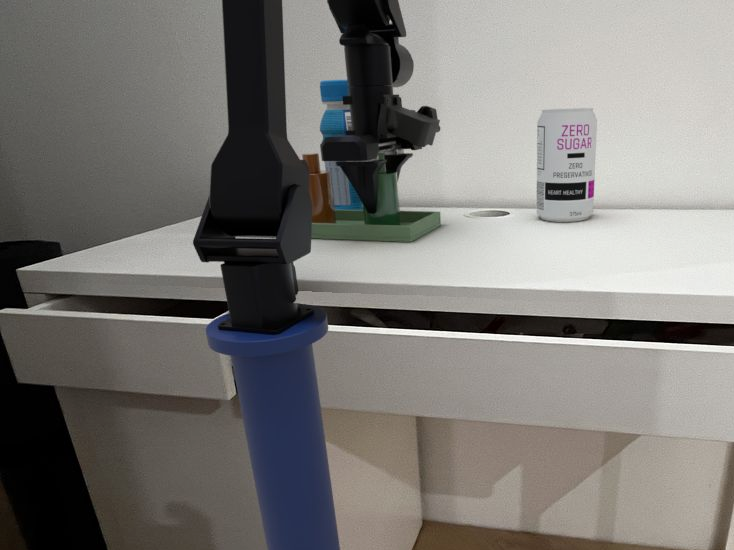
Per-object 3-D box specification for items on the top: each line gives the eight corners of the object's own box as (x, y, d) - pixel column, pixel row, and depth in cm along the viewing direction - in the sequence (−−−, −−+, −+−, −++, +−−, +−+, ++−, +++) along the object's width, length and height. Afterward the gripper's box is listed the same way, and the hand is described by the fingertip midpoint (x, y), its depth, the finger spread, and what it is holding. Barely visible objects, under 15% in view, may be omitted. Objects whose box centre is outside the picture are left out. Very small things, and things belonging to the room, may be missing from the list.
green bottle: (391, 232, 83) (385, 154, 79) (358, 231, 85) (350, 155, 81) (406, 225, 88) (401, 151, 84) (374, 224, 89) (367, 151, 85)
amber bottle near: (325, 230, 86) (316, 155, 83) (294, 229, 88) (284, 155, 84) (343, 223, 91) (335, 152, 87) (313, 222, 92) (304, 152, 88)
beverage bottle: (321, 218, 98) (304, 80, 90) (338, 209, 106) (324, 81, 98) (373, 218, 97) (361, 78, 89) (386, 209, 104) (376, 79, 97)
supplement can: (562, 211, 97) (564, 108, 92) (604, 217, 91) (609, 107, 86) (525, 218, 92) (525, 110, 87) (566, 225, 86) (570, 110, 81)
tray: (410, 242, 80) (409, 226, 79) (209, 234, 89) (206, 220, 88) (440, 225, 89) (440, 211, 89) (256, 220, 99) (254, 207, 98)
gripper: (398, 83, 69) (408, 224, 75) (453, 85, 85) (458, 200, 91) (310, 87, 72) (326, 222, 78) (380, 88, 89) (388, 199, 94)
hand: (380, 210), depth 85 cm, fingers closed on green bottle, 5 cm apart
